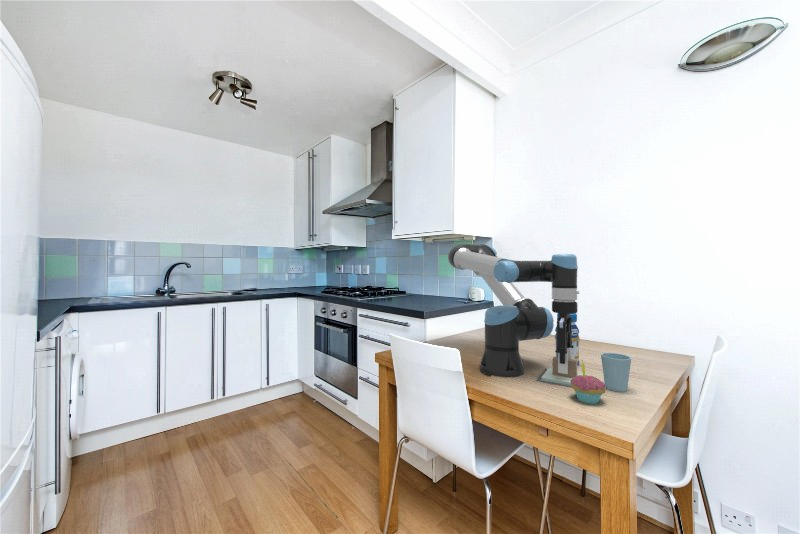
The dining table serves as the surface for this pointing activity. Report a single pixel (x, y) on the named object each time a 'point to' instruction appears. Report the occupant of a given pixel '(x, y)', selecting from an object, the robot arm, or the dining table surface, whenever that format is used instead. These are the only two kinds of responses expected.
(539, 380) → the mat
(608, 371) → the cup
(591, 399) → the cupcake
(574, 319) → the beverage bottle
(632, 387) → the dining table surface
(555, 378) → the lid
